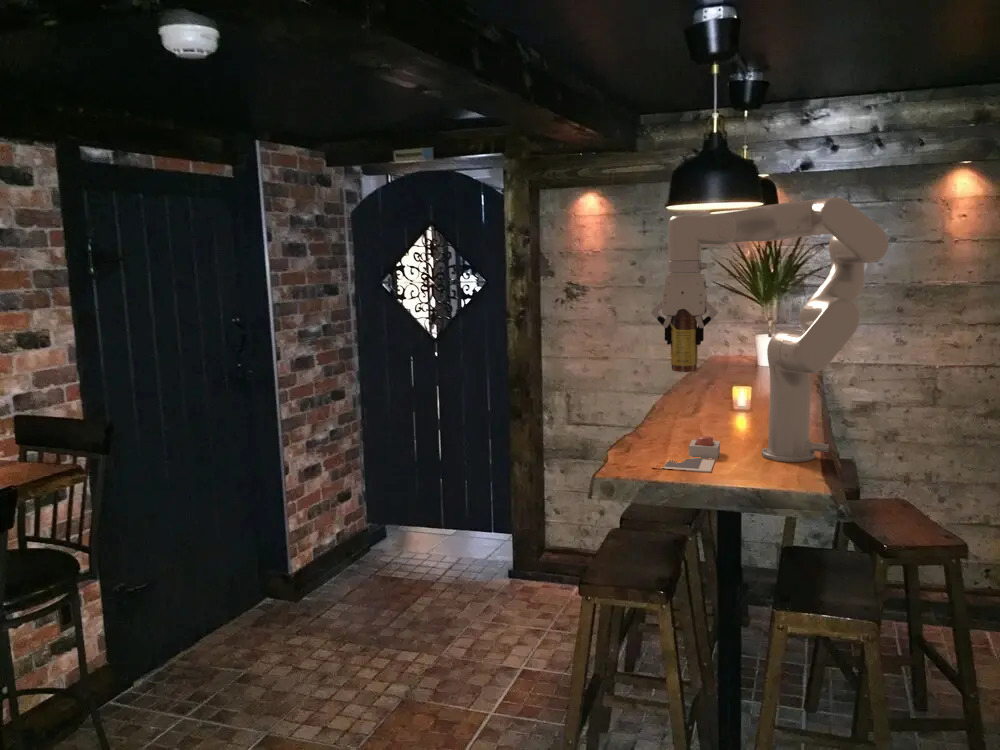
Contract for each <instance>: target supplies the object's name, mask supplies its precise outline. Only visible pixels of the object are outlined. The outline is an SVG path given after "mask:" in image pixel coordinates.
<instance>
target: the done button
mask: <svg viewBox="0 0 1000 750" xmlns="http://www.w3.org/2000/svg"><path fill="white" fill-rule="evenodd" d="M696 440H697V445H703V446H713V441H714V437H712V436H709V435H699V436H696Z"/></svg>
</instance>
